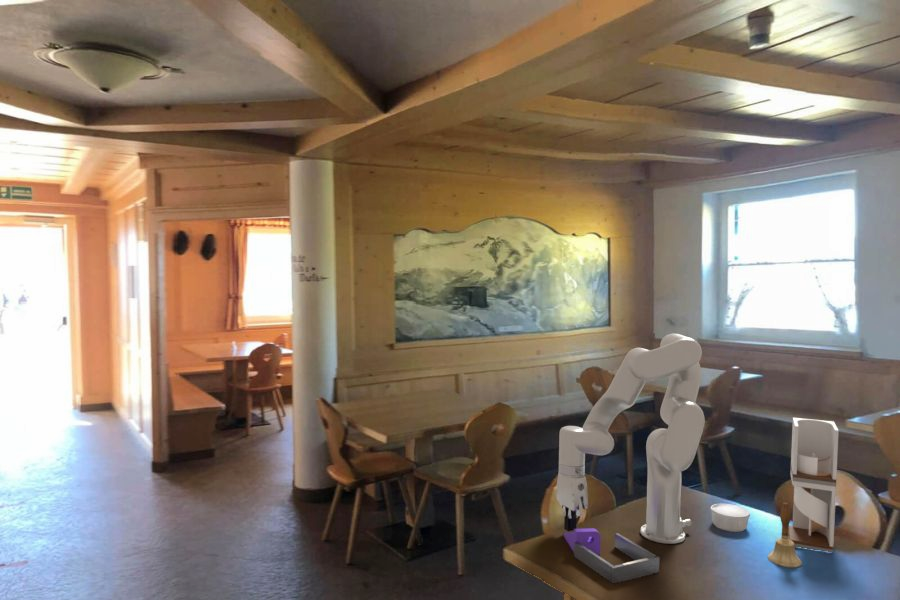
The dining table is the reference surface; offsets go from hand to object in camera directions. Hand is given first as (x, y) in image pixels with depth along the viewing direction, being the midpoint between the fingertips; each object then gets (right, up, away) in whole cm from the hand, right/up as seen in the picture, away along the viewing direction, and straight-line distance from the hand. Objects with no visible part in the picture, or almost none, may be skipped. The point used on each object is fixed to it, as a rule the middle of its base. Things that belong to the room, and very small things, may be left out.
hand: (570, 529), depth 191 cm
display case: (+69, -3, -4) cm, 69 cm away
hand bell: (+56, -3, -15) cm, 58 cm away
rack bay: (+9, -3, -18) cm, 20 cm away
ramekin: (+51, -2, +8) cm, 51 cm away
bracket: (+2, -2, -7) cm, 8 cm away
